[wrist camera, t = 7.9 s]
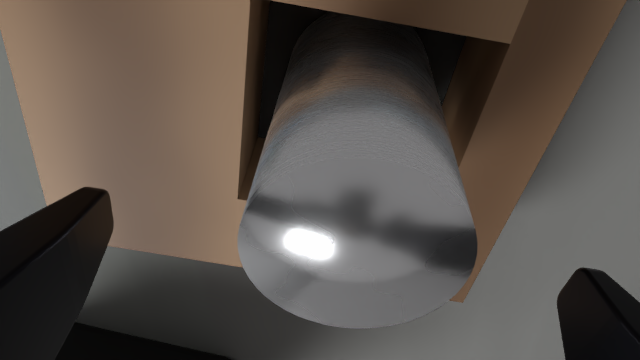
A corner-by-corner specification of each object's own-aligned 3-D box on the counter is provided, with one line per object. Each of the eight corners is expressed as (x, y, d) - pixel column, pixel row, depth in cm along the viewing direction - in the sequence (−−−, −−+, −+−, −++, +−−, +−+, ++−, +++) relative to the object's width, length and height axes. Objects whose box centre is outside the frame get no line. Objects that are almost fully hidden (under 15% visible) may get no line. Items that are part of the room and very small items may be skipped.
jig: (601, -110, 12) (674, -88, 9) (448, 232, 19) (462, 302, 16) (37, -220, 11) (-68, -233, 9) (101, 175, 19) (55, 237, 16)
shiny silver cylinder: (448, 20, 14) (518, 184, 8) (407, 145, 17) (434, 342, 10) (298, -8, 14) (244, 136, 8) (281, 123, 17) (231, 310, 10)
